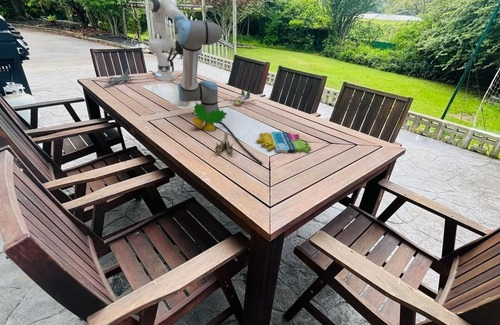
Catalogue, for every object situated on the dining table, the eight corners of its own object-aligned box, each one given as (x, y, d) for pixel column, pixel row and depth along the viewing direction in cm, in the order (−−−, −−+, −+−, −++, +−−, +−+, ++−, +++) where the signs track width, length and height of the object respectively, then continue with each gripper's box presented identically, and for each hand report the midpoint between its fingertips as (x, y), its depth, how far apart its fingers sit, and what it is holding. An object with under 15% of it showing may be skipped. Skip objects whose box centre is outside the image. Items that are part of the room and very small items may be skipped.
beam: (186, 106, 201) (186, 95, 197) (179, 105, 201) (178, 95, 197) (195, 87, 252) (195, 78, 248) (189, 87, 252) (189, 78, 248)
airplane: (101, 79, 257) (98, 68, 252) (135, 77, 270) (133, 67, 265) (102, 89, 228) (99, 78, 223) (140, 87, 242) (138, 76, 237)
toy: (261, 91, 228) (254, 99, 202) (261, 99, 231) (253, 108, 205) (231, 87, 233) (220, 95, 207) (230, 95, 236) (219, 104, 210)
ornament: (218, 133, 171) (224, 110, 169) (221, 134, 163) (227, 111, 161) (186, 125, 162) (192, 101, 160) (189, 126, 155) (195, 101, 153)
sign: (313, 150, 142) (258, 149, 139) (312, 153, 143) (258, 152, 140) (301, 132, 164) (254, 130, 161) (301, 134, 165) (254, 133, 162)
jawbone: (234, 135, 144) (233, 125, 135) (233, 160, 138) (232, 151, 129) (217, 135, 144) (216, 125, 135) (216, 160, 138) (214, 150, 129)
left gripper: (202, 42, 231) (202, 59, 237) (178, 41, 229) (179, 58, 236) (201, 43, 225) (202, 60, 232) (177, 41, 223) (178, 59, 230)
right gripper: (198, 41, 188) (199, 71, 199) (163, 38, 186) (166, 69, 196) (197, 42, 182) (198, 73, 192) (161, 39, 180) (164, 71, 190)
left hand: (190, 59), depth 234 cm, fingers open, 8 cm apart
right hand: (182, 71), depth 194 cm, fingers open, 13 cm apart
